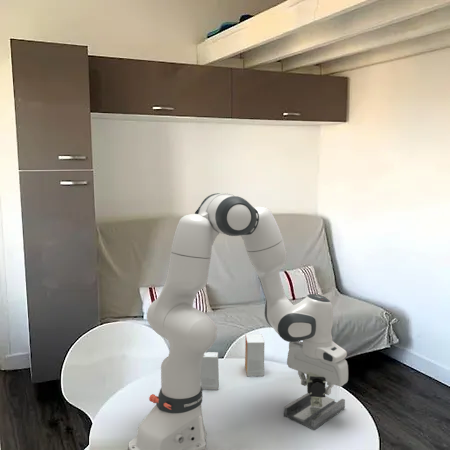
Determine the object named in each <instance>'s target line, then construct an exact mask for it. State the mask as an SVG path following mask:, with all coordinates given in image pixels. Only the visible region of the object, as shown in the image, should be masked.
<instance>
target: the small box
mask: <svg viewBox="0 0 450 450" xmlns="http://www.w3.org/2000/svg"><path fill="white" fill-rule="evenodd" d="M244 337H245V339H244V340H245V343H244V344H245V345H244V348H245V353H244V355H245V356H244V362H245V363H244V367H245V372H246V377H264V376H265V340H264V336H263V333H248V334H247V333H246V334H245V336H244Z"/></svg>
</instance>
